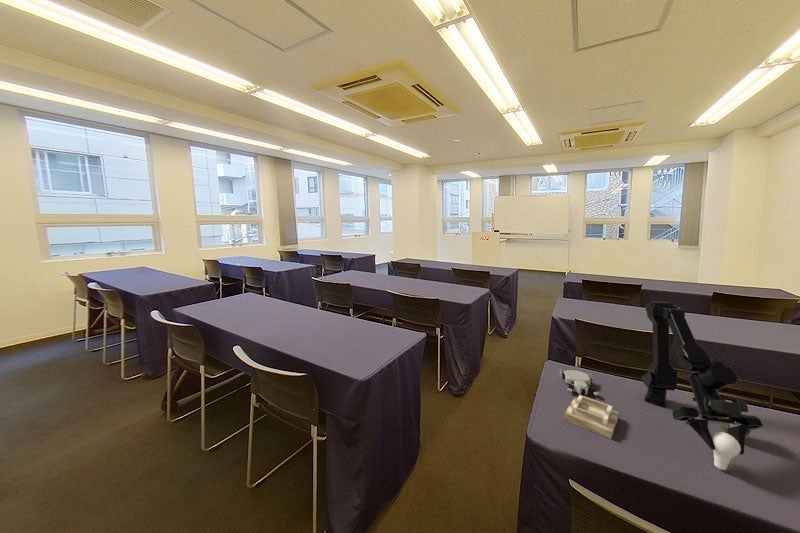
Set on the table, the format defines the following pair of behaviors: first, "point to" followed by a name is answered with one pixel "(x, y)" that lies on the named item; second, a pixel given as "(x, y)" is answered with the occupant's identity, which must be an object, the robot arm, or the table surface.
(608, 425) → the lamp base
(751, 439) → the table surface
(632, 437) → the table surface
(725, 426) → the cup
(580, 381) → the robot toy
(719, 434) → the lightbulb
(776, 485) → the table surface
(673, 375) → the robot arm
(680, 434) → the table surface
